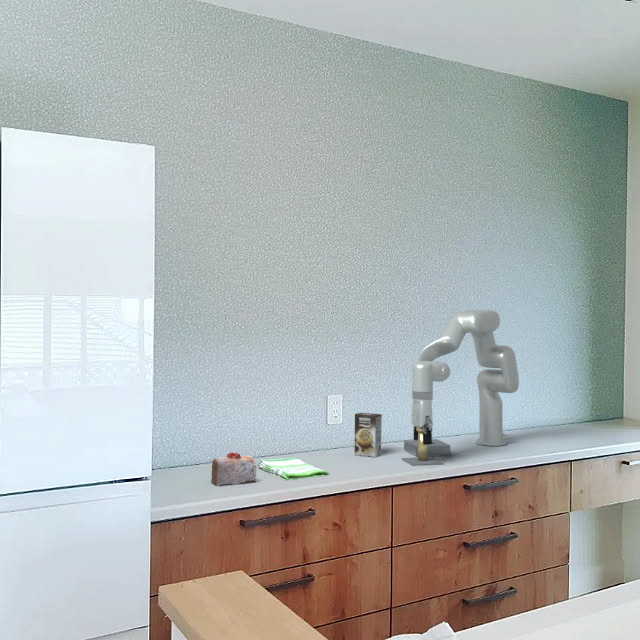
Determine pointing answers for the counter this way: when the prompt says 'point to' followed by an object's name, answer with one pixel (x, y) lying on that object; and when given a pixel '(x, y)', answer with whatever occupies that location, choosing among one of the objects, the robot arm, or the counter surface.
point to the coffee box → (368, 434)
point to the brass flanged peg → (421, 446)
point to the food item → (233, 469)
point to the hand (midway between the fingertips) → (422, 442)
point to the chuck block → (433, 450)
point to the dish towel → (290, 468)
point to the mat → (430, 461)
